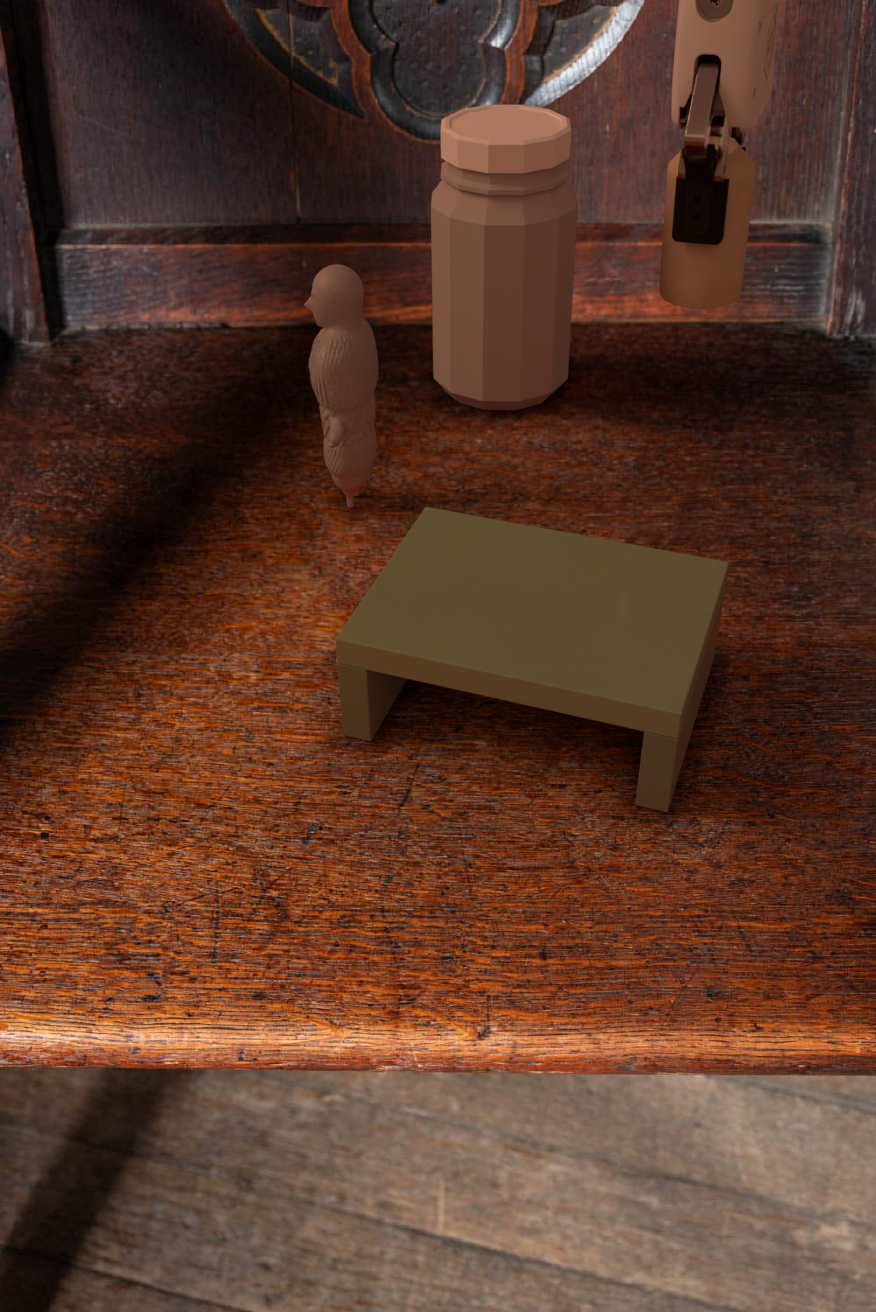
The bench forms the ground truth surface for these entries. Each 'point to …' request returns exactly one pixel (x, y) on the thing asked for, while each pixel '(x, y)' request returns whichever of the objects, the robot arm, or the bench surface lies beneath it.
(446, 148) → the jar
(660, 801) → the shelf
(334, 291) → the figurine
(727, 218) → the candle
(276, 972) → the bench surface
